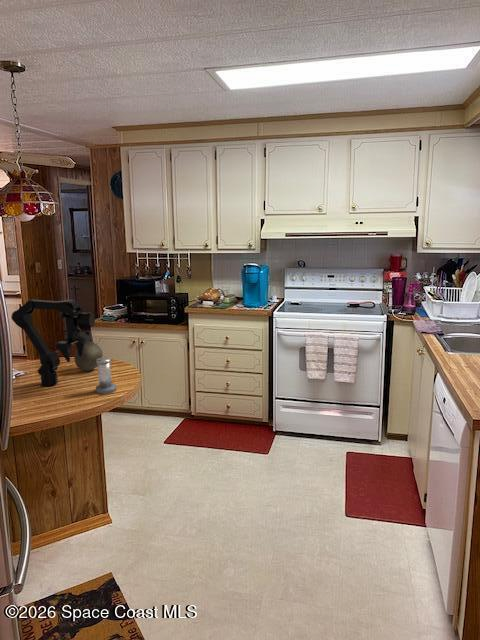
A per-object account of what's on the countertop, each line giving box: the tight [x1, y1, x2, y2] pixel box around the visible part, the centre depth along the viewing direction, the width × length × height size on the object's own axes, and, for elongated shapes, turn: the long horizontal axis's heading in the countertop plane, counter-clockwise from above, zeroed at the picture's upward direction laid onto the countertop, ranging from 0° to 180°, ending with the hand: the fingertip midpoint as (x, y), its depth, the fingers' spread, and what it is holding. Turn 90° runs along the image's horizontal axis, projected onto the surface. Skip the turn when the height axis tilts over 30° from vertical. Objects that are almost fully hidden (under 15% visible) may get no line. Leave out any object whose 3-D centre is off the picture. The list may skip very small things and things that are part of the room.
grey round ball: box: [73, 341, 104, 372], centre depth 244 cm, size 14×14×15 cm
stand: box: [95, 383, 117, 395], centre depth 215 cm, size 9×9×2 cm
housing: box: [96, 356, 113, 389], centre depth 213 cm, size 6×6×13 cm
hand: (74, 359), depth 220 cm, fingers open, 9 cm apart
